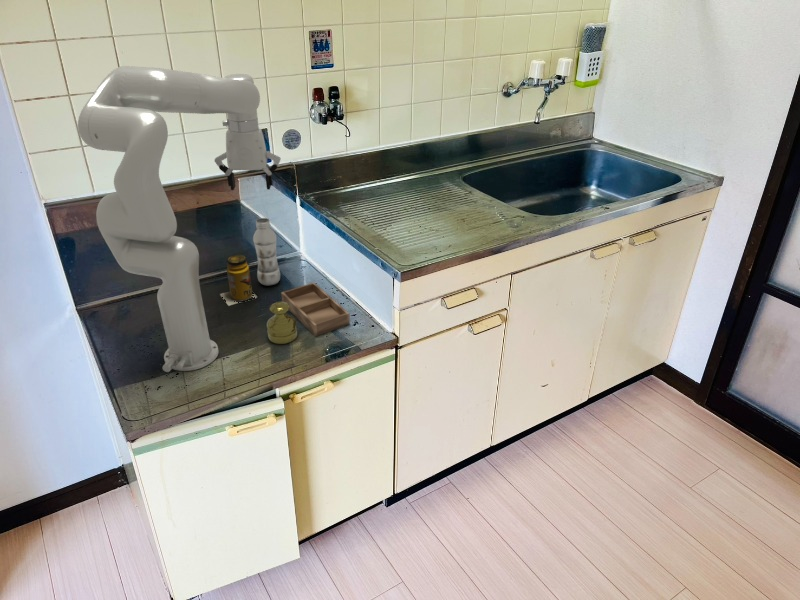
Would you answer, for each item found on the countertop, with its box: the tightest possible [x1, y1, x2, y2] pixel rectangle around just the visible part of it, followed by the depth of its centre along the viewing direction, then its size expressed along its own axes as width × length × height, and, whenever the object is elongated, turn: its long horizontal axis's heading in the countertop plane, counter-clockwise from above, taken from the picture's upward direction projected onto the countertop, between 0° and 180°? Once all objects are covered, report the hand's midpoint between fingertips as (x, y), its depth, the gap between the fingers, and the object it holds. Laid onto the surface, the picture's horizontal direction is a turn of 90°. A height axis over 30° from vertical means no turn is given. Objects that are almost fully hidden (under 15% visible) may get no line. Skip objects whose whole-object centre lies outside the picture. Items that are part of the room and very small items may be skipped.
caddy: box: [280, 282, 351, 337], centre depth 163 cm, size 20×10×4 cm, turn 35°
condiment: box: [219, 254, 258, 307], centre depth 168 cm, size 7×8×12 cm
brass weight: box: [266, 301, 298, 345], centre depth 152 cm, size 7×8×10 cm
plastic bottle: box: [252, 217, 281, 287], centre depth 173 cm, size 6×7×20 cm
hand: (251, 188), depth 165 cm, fingers open, 9 cm apart
